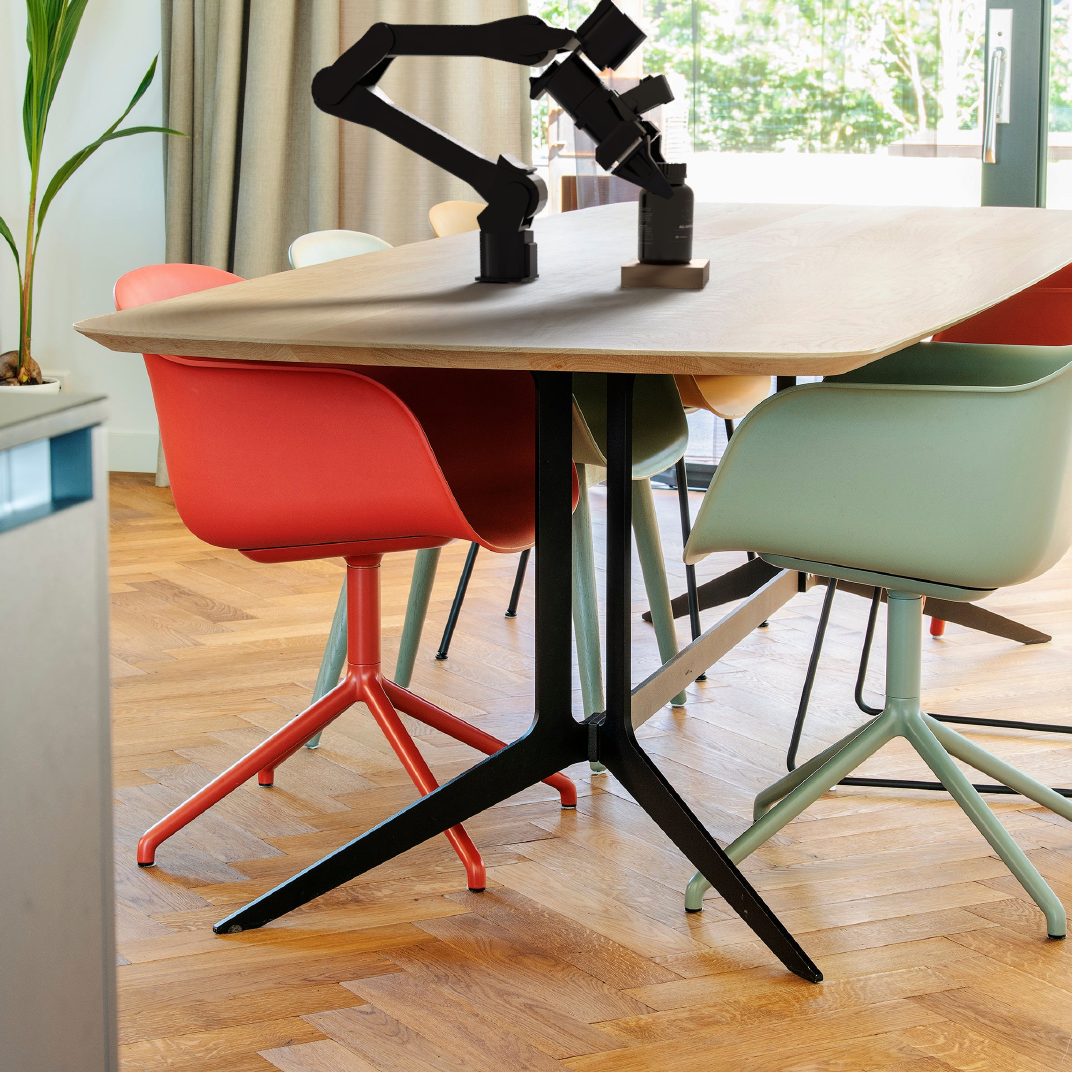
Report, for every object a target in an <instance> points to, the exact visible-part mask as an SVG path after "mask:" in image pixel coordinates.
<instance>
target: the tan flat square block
mask: <svg viewBox="0 0 1072 1072" xmlns="http://www.w3.org/2000/svg"><path fill="white" fill-rule="evenodd" d="M710 262H711V259H706V258H705V259H704V258H702V259H701V258H697V259H696V258H695V259H693V258H692V259H691V261H690V262H689V263H685V264H647V263H641V262H639V260H638V257H636V258H635V257H633V258H630V259H629V260H628V261H626V262H625V263H624V264H622V265H620V288H641V289H642V288H644V289H646V288H648V289H649V288H653V289H655V288H657V289H695V290H696V289H697V290H698V289H699V290H700V289H704V288H705V286H706V285H707V283H708V282H709V280H710V269H711V268H710V265H711V263H710Z"/></svg>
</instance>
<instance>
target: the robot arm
mask: <svg viewBox="0 0 1072 1072" xmlns="http://www.w3.org/2000/svg"><path fill="white" fill-rule="evenodd" d="M648 36H649V35H647V33H646V32H645V31H644V30H643V28H641V27H640V25H639V24H638V23H637V21H635V20H634V18H633V17H632V16H630V15H629V14H627V13H626V12H624V11H623V9H621V8H620V7H619V6H618V5H617V4H616V3H615V2H614V1H613V0H600V1H599V2H598V3H597V5H596V7H595V9H594V10H593V11H592V12H591V14H590V15H589V16H587V18H586V19H585V20H584V21H583V22H582V23H581V24H580V25H579V26H578V28H577V29H576V30H574V29H573V28H570V27H567V26H565V28H560V27H554V25H553V24H552V23H551V22H550V21H548V20H547V19H544V18H542V17H539V16H537V15H532V14H523V15H522V14H521V15H517V16H511V17H506V18H502V19H498V20H493V21H489V22H486V23H481V24H421V23H420V24H419V23H417V24H416V23H415V24H410V23H409V24H406V23H405V24H399V23H396V24H395V23H388V22H383V21H379V22H374V24H372V25H370V27H369V28H368V29H367V31H365V33H364V34H363V35H362V37H361V38H359V39H358V40H357V41H356V42H355V43H354V44H353V45H351V46H350V47H349V48H348V49H346V51H344V52H343V53H342V54H340V55H339V57H338V58H337V59H336V60H335V61H334V62H333V63H332V65H328V66H325V67H322V68H321V69H319V70H318V72H316V73H315V75H314V77H313V78H312V80H311V85H310V89H311V91H310V94H311V96H312V97H311V98H312V100H313V104H314V105H315V106H316V108H317V109H319V110H320V111H321V112H322V113H325V114H326V115H327V114H328V115H329V116H333V117H336V118H338V119H341V120H344V121H347V122H350V123H353V124H357V125H359V126H363V127H366V128H370V129H372V130H375V131H377V132H379V133H380V134H382V135H383V136H386V137H387V138H389V139H391V140H392V141H394V142H396V143H397V144H398V145H400V146H403V147H405V148H406V149H408V150H410V151H412V152H413V153H415V154H417V155H418V156H420V157H422V158H423V159H425V160H426V161H428V162H431V163H432V164H434V165H436V166H437V167H439V168H440V169H442V170H444V171H446V173H447V172H448V173H449V174H451V175H452V176H454V177H456V178H458V179H460V180H461V181H463V182H465V183H466V184H468V185H469V186H470V187H471V188H472V189H473V190H474V192H476V193H477V194H478V195H479V196H480V197H481V199H483V201H485V202H486V203H487V205H486V207H484V209H482V210H481V212H480V213H478V214H477V216H476V222H477V224H478V226H479V227H478V228H479V229H480V230H479V232H478V234H479V237H478V238H479V276H474V281H475V282H491V283H492V282H494V283H495V282H496V283H500V282H501V283H519V284H520V283H524V282H527V281H531V280H535V279H539V278H540V273H539V272H538V271H539V269H538V268H539V267H538V243H537V242H536V241H535V240H534V239H535V237H534V236H535V234H534V233H535V230H533V229H531V227H532V225H533V221H534V220H535V216H537V215H538V214H540V213H541V212H542V211H543V210H544V209H545V207H546V206H547V203H548V199H549V191H548V188H547V184H546V182H545V180H544V179H543V177H541V176H540V175H539V174H537V173H535V172H536V171H538V167H536V166H530V165H527V164H525V163H524V162H522V161H521V160H520V159H519V158H518V157H516V156H515V155H514V154H512V153H510V152H509V153H500V154H499V155H498V158H497V159H494V158H491V157H488V156H486V155H484V154H483V153H481V152H479V151H478V150H475V149H474V148H473V147H470V146H469V145H467V144H465V143H464V142H461V141H460V140H458V139H457V138H455V137H453V136H452V135H450V134H448V133H446V132H445V131H443V130H441V129H440V128H437V127H436V126H434V125H432V124H431V123H429V122H428V121H425V120H423V119H422V118H421V117H418V115H415V114H413V113H412V112H410V111H408V110H407V109H405V108H404V107H401V106H400V105H398V104H397V103H395V102H393V100H391V99H390V97H388V96H387V95H386V93H385V92H384V91H383V90H382V89H381V88H380V87H379V86H378V85H377V84H378V83H379V82H380V81H381V80H382V78H383V77H384V75H385V73H386V72H387V71H388V69H389V68H390V66H391V64H392V63H393V62H394V61H395V59H397V57H434V58H435V57H437V58H440V57H442V58H444V57H449V58H452V57H453V58H458V57H459V58H486V59H492V60H496V61H500V62H506V63H511V64H516V65H520V66H525V67H531V68H543V67H546V66H547V65H549V66H548V67H546V69H545V70H544V71H543V72H542V73H541V74H540V75H539V76H529V77H528V81H529V100H532V101H540V100H541V99H542V97H544V96H545V94H546V93H547V94H548V95H549V96H550V97H551V99H553V101H555V103H556V104H558V106H559V107H560V108H561V109H562V110H563V111H564V112H565V113H566V114H567V115H568V116H569V117H570V119H572V120H573V122H574V123H573V125H574V127H576V129H578V130H579V131H583V133H584V134H585V135H586V136H588V137H589V139H590V140H591V141H592V142H593V143H594V144H595V145H596V147H595V150H594V160H595V162H596V163H597V164H598V165H599V166H600V167H601V169H603V170H604V171H605V172H610V171H611V170H612V171H611V172H610V175H612V176H615V177H617V178H620V179H622V180H624V181H626V182H627V183H631V184H632V185H636V186H638V187H640V188H641V189H642V188H644V189H646V190H648V191H651V192H653V193H655V194H657V195H659V196H661V197H663V198H666V199H670V198H671V197H672V196H673V195H674V194H675V192H674V191H673V189H672V187H671V186H670V184H669V183H668V181H667V180H666V178H665V177H664V175H663V174H662V172H661V170H660V169H659V167H658V166H657V164H656V163H668V162H667V161H666V159H665V157H664V156H663V154H662V141H663V135H662V134H661V130H660V129H659V128H658V127H657V125H655V124H654V123H653V121H652V120H644V117H643V116H642V115H643V114H645V113H647V112H649V111H651V110H654V109H655V108H657V107H659V106H662V105H667V104H670V103H671V102H673V101H674V100H675V99H676V98H675V96H674V94H673V91H672V90H671V85H670V84H669V81H668V80H667V76H666V74H663V73H662V74H659V75H656V76H654V75H653V74H648V76H646V77H643V78H640V79H638V81H639V83H638V85H637V86H634V87H632V88H629V90H626V91H625V92H623V93H620V92H619V90H617V88H615V89H613V88H610V87H609V86H608V84H606V83H605V81H603V80H602V79H601V77H599V76H598V75H597V73H596V72H595V71H594V70H593V69H592V68H591V67H590V66H589V65H588V64H587V63H586V62H585V60H583V58H582V57H581V55H582V54H584V56H585V57H586V58H587V59H588V60H589V62H591V64H592V65H594V66H595V68H596V69H598V70H599V71H600V72H601V73H603V72H604V71H605V70H606V69H607V70H609V69H610V70H612V71H613V72H616V71H617V70H618V69H619V68H620V67H621V66H622V65H623V64H624V62H625V61H627V59H628V58H629V57H630V56H631V55H632V54H633V53H634V52H635V51H636V50H637V48H639V46H641V44H643V42H644V41H645V40H646V39H647V38H648ZM568 52H569V53H570V52H571V53H570V54H569V55H568V56H567V57H565V59H563V61H562V62H560V61H559V60H557V59H555V57H556V55H561V54H566V53H568ZM551 62H552V63H551ZM616 162H617V163H618V164H617V165H616V167H614V168H613V165H614V164H615V163H616ZM528 229H529V230H528ZM530 229H531V230H530Z"/></svg>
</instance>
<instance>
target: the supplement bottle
mask: <svg viewBox="0 0 1072 1072" xmlns="http://www.w3.org/2000/svg"><path fill="white" fill-rule="evenodd" d="M656 164H657V166H658V167H659V169H660V170H661V172H662V174H663V175H664V177H665V178H666V180H667V181H668V183H669V184H670V186H671V187H672V189H673V191H674V192H675V194H674V195H673V196H672V197H671V198H670V199H666V198H663V197H661V196H659V195H657V194H655V193H653V192H651V191H648V190H646V189H644V188H642V187H641V189H640V190H639V192H638V204H637V205H638V210H637V211H638V214H637V218H638V219H637V224H638V225H637V258H638V260H639V262H641V263H647V264H685V263H689V262H690V261H691V259H693V245H694V243H693V241H694V240H693V238H694V212H695V211H694V210H695V209H694V208H695V203H694V202H695V193H694V191H693V189H692V188H691V186H689V185H687V184H686V182H685V179H687V178H688V174H687V167H688V166H687V163H686V162H667V163H656Z"/></svg>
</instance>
